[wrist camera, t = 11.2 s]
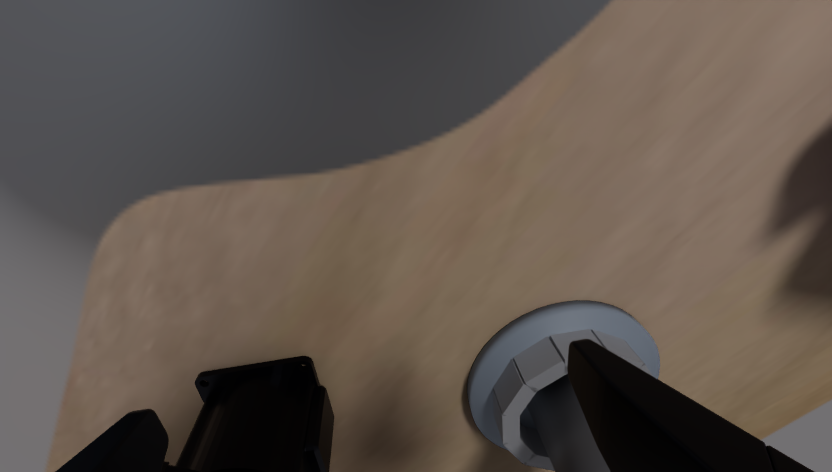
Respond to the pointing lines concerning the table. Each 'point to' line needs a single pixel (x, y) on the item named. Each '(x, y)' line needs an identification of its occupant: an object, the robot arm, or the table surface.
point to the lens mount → (544, 367)
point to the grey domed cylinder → (565, 429)
